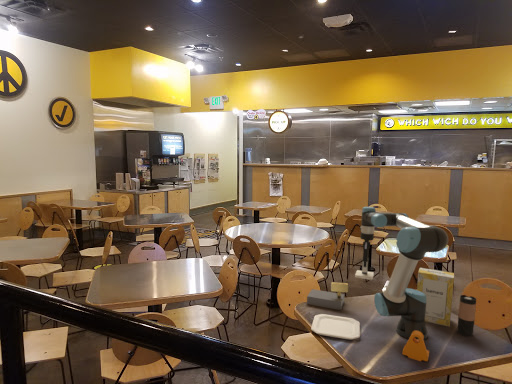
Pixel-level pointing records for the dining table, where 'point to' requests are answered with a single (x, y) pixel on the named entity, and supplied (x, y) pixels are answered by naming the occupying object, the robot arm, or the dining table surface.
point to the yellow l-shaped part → (339, 288)
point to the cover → (364, 274)
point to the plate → (336, 326)
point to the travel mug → (466, 315)
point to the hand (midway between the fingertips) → (364, 271)
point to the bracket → (416, 347)
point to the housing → (325, 299)
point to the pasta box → (436, 294)
